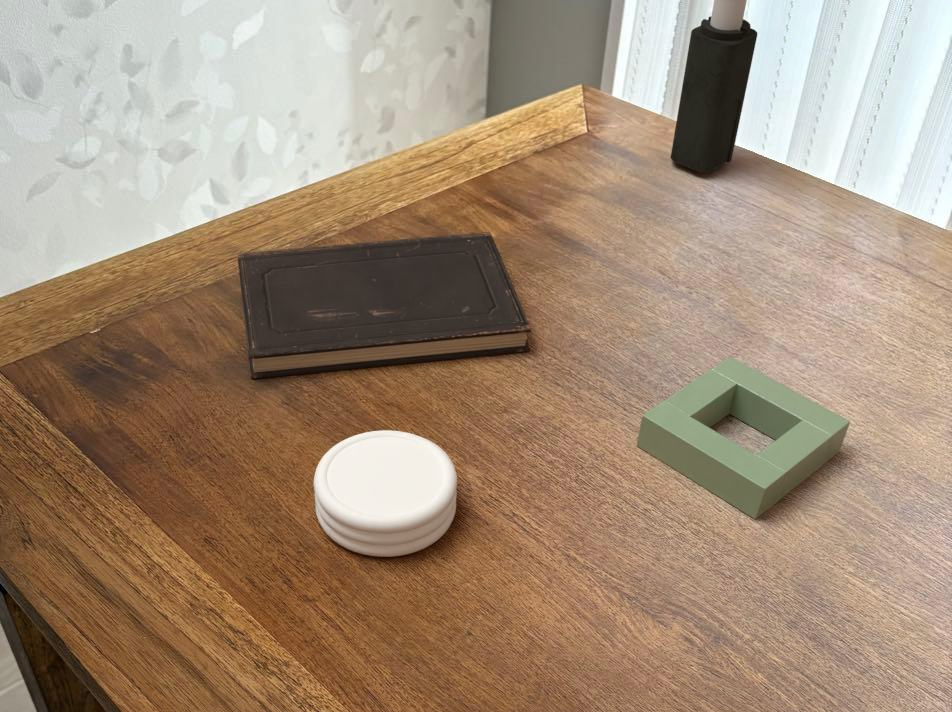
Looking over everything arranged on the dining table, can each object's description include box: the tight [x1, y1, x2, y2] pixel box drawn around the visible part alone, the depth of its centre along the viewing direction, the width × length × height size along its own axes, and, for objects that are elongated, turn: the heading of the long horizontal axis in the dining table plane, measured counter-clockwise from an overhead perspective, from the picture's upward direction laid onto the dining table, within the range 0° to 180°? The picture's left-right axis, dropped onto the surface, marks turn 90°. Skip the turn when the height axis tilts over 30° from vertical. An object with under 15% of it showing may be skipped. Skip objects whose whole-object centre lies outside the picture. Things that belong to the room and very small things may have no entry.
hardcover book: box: [236, 231, 532, 380], centre depth 96 cm, size 16×23×2 cm
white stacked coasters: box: [312, 429, 458, 558], centre depth 78 cm, size 10×10×4 cm
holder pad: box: [636, 356, 851, 520], centre depth 83 cm, size 11×11×3 cm
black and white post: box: [670, 0, 758, 174], centre depth 106 cm, size 5×5×25 cm
